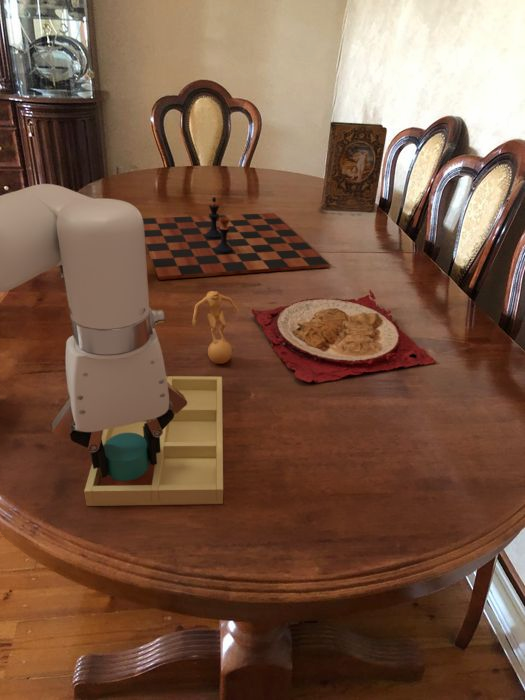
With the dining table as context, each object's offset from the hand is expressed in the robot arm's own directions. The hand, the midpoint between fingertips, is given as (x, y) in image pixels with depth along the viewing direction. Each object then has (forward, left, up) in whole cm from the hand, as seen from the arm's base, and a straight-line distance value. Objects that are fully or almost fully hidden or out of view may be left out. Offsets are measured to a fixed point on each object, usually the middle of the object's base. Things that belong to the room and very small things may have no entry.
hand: (127, 461), depth 62 cm
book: (+52, +117, -3) cm, 128 cm away
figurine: (+11, +27, -3) cm, 30 cm away
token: (0, 0, -1) cm, 1 cm away
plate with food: (+33, +34, -3) cm, 47 cm away
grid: (+4, +7, -3) cm, 9 cm away
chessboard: (+13, +82, -3) cm, 83 cm away
